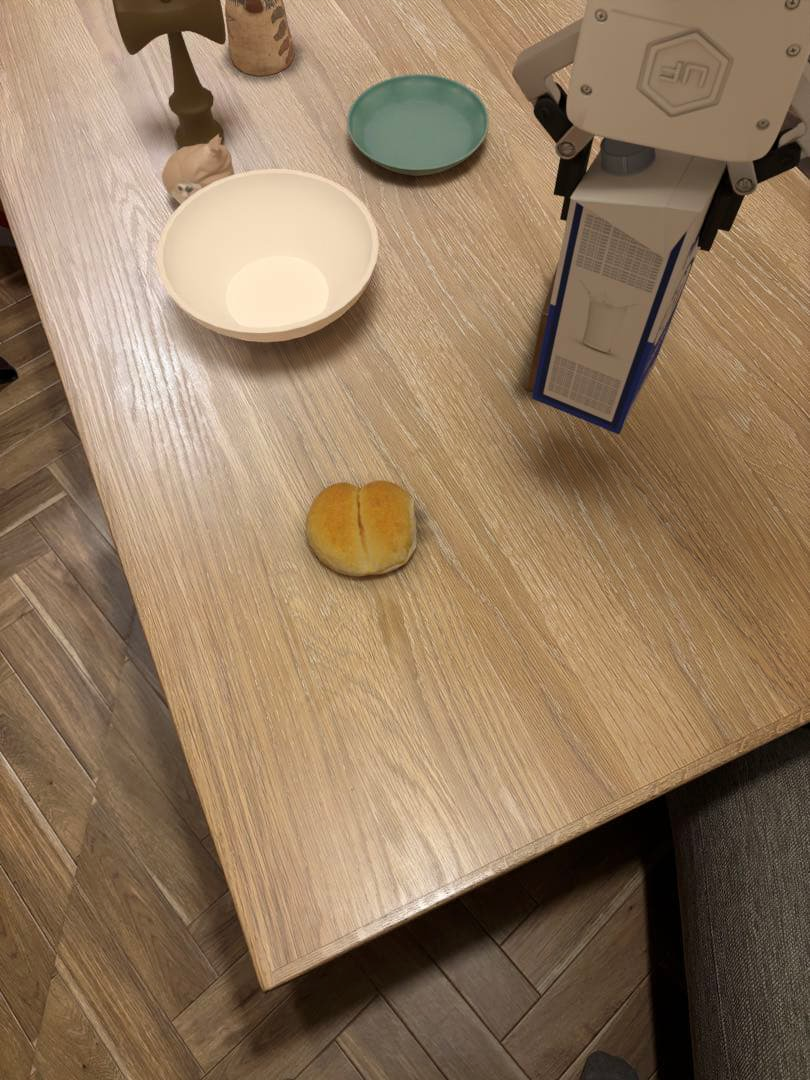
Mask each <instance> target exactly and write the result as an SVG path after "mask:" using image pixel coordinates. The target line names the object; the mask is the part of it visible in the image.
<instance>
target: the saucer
mask: <svg viewBox="0 0 810 1080" xmlns="http://www.w3.org/2000/svg"><path fill="white" fill-rule="evenodd" d="M346 118H347V119H346V127H347V132H348V135H349V137H350V139H351V141H352V143H353V144H354V145H355V147H356V148H357V149H358V150H359V152H361V153H362V154H363V155H364V157H366V158H367V159H369V160H370V161H371V162H373V163H374V164H376V165H378V166H380V167H382V168H384V169H386V170H388V171H391V172H393V173H396V174H399V175H404V176H414V177H415V176H416V177H418V176H419V177H420V176H421V177H422V176H431V175H435V174H438V173H442V172H444V171H447V170H449V169H451V168H454V167H456V166H457V165H459V164H461V163H462V162H464V161H465V160H467V159H468V158H469V157H471V155H473V153H475V151H477V149H478V148H480V146H481V145H482V143H483V142H484V140H485V138H486V136H487V133H488V131H489V125H490V119H489V113H488V110H487V106H486V105H485V103H484V102H483V100H482V99H481V98H480V96H479V95H478V94H477V93H476V92H475V91H473V90H472V89H471V88H470V87H468V86H467V85H465V84H463V83H461V82H459V81H457V80H454V79H451V78H448V77H445V76H440V75H436V74H426V73H414V74H404V75H398V76H394V77H390V78H387V79H384V80H382V81H379V82H376V83H374V84H373V85H371V86H370V87H368V88H366V89H365V90H364V91H362V92H361V94H359V95H358V96H357V97H356V99H355V100H354V101H353V102H352V104H351V106H350V109H349V110H348V114H347V117H346Z"/></svg>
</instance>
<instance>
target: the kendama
mask: <svg viewBox="0 0 810 1080" xmlns="http://www.w3.org/2000/svg"><path fill="white" fill-rule="evenodd" d="M111 1H112V7H113V12H114V16H115V17H114V18H115V20H116V24H117V28H118V31H119V34H120V38H121V40H122V43H123V45H124V47H125V50H126V51H127V53H128V54H129V55H131V56H134V55H137V54H138V53H139V52H140V51H142V50H143V49H144V48H145V47H146V46H148V44H150V43H151V42H153V41H154V40H155V39H156V38H158V37H161V36H164V35H167V42H168V46H169V47H168V48H169V53H170V61H171V70H172V78H173V92H172V93H171V95H170V96H169V98H168V107H169V109H170V111H171V112H172V113H173V114H175V115H176V116H177V119H178V123H179V124H178V126H177V127H176V129H175V135H174V140H175V141H176V144H177V146H178V147H179V149H181V148H182V147H188V146H194V145H197V144H208V143H209V141H210V140H212V139H213V138H214V137H215V136H217V135H218V134H219V137H222V138H221V142H220V144H221V145H222V143H223V140H224V137H225V136H224V135H225V131H224V128H223V126H222V124H221V123H220V121H218V120H217V119H215V118H214V116H213V112H212V108H213V106H214V100H215V97H214V95H213V94H212V93H213V92H212V91H211V90H210V89H208V88H206V87H204V86H203V85H202V83H201V81H200V78H199V76H198V74H197V72H196V69H195V67H194V64H193V61H192V58H191V56H190V53H189V51H188V47H187V44H186V42H185V39H184V35H183V33H185V32H190V33H194V34H197V35H199V36H201V37H203V38H206V39H208V40H210V41H211V42H213V43H216V44H218V45H225V44H226V40H227V37H226V36H227V32H226V22H225V18H224V12H223V8H222V7H223V6H222V2H221V0H111Z"/></svg>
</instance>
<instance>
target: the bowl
mask: <svg viewBox="0 0 810 1080" xmlns="http://www.w3.org/2000/svg"><path fill="white" fill-rule="evenodd" d="M158 239H159V240H158V242H157V246H156V266H157V270H158V275H159V279H160V281H161V283H162V284H163V286H164V288H165V290H166V292H167V294H168V295H169V297H170V298H171V299H172V301H174V303H175V304H176V305H177V306H178V307H179V308H180V309H181V310H182V312H183V313H184V314H186V315H187V316H188V317H190V319H192V320H194V321H195V322H196V323H198V324H200V325H201V326H202V327H204V328H206V329H208V330H211V331H213V332H215V333H217V334H220V335H222V336H225V337H229V338H233V339H238V340H242V341H247V342H258V343H271V342H284V341H290V340H293V339H298V338H301V337H305V336H307V335H310V334H312V333H315V332H317V331H320V330H322V329H323V328H325V327H327V326H328V325H330V324H331V323H333V322H335V321H336V320H338V319H339V318H340V317H342V316H343V315H344V314H345V313H346V312H347V311H349V310H350V309H351V308H352V307H353V306H354V305H355V304H356V303H357V302H358V300H359V298H360V297H361V296H362V294H364V292H365V290H366V288H367V287H368V285H369V283H370V281H371V279H372V276H373V273H374V271H375V269H376V266H377V262H378V255H379V248H380V245H379V243H380V242H379V233H378V229H377V226H376V224H375V221H374V218H373V216H372V213H371V212H370V211H369V210H368V209H367V207H366V206H365V204H364V203H363V202H362V200H360V199H359V198H358V197H357V196H356V195H355V194H354V193H353V192H352V191H351V190H349V189H348V188H346V187H344V186H343V185H341V184H339V183H337V182H335V181H334V180H333V179H329V178H326V177H324V176H321V175H319V174H316V173H312V172H307V171H303V170H297V169H287V168H264V169H253V170H248V171H244V172H243V171H242V172H239V173H234V175H231V176H228V177H226V178H223V179H220V180H217V181H215V182H213V183H211V184H209V185H208V186H206V187H204V188H202V189H200V190H198V191H197V192H196V193H194V194H193V195H192V196H190V197H189V198H188V199H187V200H185V201H184V202H183V203H182V204H180V205H179V206H178V207H177V208H176V209H175V210H174V212H173V213H171V215H170V216H169V218H168V220H167V221H166V223H165V225H164V227H163V228H162V230H161V232H160V236H159V238H158Z"/></svg>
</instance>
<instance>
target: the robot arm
mask: <svg viewBox="0 0 810 1080" xmlns="http://www.w3.org/2000/svg"><path fill="white" fill-rule="evenodd" d="M809 58H810V0H586V4H585V9H584V13H583V17H582V18H580V19H578V20H576V21H574V22H572V23H571V24H569V25H567V26H565V27H563V28H561V29H560V30H558V31H556V32H554V33H553V34H550V35H548V36H547V37H545V38H543V39H541V40H539V41H537V42H536V43H534V44H532V45H531V46H529V47H527V48H525V49H523V50H522V51H520V52H519V54H518V55H517V58H516V61H515V63H514V66H513V69H512V70H511V72H512V75H511V76H512V78H513V79H514V81H515V83H516V85H517V86H518V88H519V89H520V91H521V92H522V94H523V96H524V97H525V99H526V100H527V102H528V103H529V102H530V104H531V106H532V107H533V115H534V117H535V119H536V120H537V121H538V123H539V124H540V125H541V126H542V128H543V129H544V130H545V131H546V133H547V134H548V135H549V136H550V138H551V139H552V141H553V142H554V143H555V149H554V150H555V153H556V155H557V156H558V157H559V163H558V166H557V172H556V178H555V182H554V189H553V196H557V197H562V198H563V202H562V207H561V212H560V217H559V220H560V221H565V222H566V221H567V216H568V211H569V206H570V201H571V198H570V197H571V196H572V194H573V193H574V191H575V189H576V188H577V186H578V185H579V183H580V182H581V180H582V178H583V177H584V175H585V174H586V172H587V170H588V165H589V160H590V158H591V157H590V156H591V151H592V147H593V143H594V138H595V136H597V137H600V138H609V139H613V140H618V141H623V142H628V143H633V144H637V145H642V146H647V147H652V148H657V149H662V150H667V151H672V152H677V153H682V154H688V155H693V156H698V157H703V158H708V159H714V160H720V161H726V163H727V169H726V171H725V172H724V174H723V176H722V178H721V181H720V183H719V186H718V188H717V191H716V194H715V196H714V199H713V201H712V204H711V207H710V209H709V212H708V215H707V217H706V220H705V222H704V225H703V228H702V230H701V233H700V235H699V240H698V245H697V247H699V250H700V251H705V252H711V250H712V247H713V244H714V242H715V240H716V237H717V234H718V232H719V231H723V232H730V231H731V230H732V227H733V225H734V222H735V220H736V218H737V215H738V213H739V211H740V208H741V206H742V204H743V202H744V198H745V197H746V196H749V195H751V194H753V193H755V191H756V190H757V187H758V185H759V184H761V183H764V182H766V181H768V180H770V179H772V178H775V177H777V176H779V175H781V174H784V173H786V172H788V171H791V170H792V169H794V168H795V167H797V166H798V165H799V163H800V161H802V160H803V159H805V158H806V157H807V158H810V62H809V61H808V60H809ZM570 65H571V66H572V67H571V72H570V78H569V83H568V89H567V92H566V91H565V90H564V88H563V87H562V85H560V83H558V82H556V81H555V80H554V76H553V74H555V73H557V72H558V71H560V70H562V69H564V68H567V67H568V66H570ZM790 107H791V108H792V110H793V111H794V112H795V114H796V115H797V116H798V117H799V119H800V121H801V122H800V123H798V124H797V126H796V127H787V128H786V129H783V130H781V129H782V126H783V125H784V121H785V120H786V116H787V114H788V112H789V110H790Z"/></svg>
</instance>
